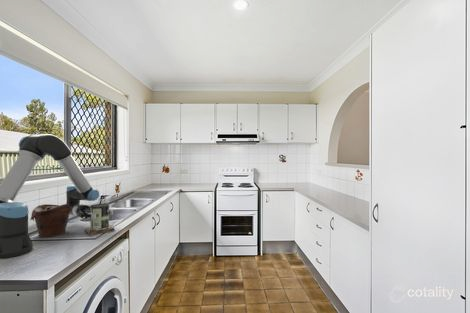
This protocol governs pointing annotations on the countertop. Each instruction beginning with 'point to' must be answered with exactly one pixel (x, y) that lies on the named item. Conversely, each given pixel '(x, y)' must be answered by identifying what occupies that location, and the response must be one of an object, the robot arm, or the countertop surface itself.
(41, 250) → the countertop surface
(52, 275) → the countertop surface
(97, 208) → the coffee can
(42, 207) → the brown clay flowerpot
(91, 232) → the walnut board
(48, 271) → the countertop surface
